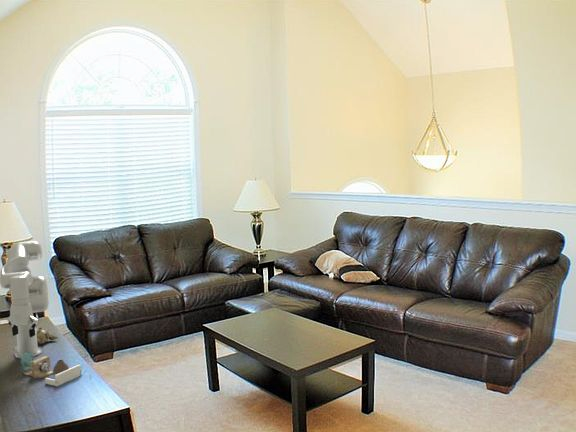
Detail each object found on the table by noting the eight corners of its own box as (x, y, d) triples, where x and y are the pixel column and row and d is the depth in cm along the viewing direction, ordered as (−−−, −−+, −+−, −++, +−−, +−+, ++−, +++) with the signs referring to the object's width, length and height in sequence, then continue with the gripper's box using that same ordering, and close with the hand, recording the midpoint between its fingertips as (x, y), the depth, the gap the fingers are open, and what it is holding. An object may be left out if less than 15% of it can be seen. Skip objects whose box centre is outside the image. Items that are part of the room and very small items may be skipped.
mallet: (21, 370, 274) (20, 354, 274) (30, 366, 279) (29, 351, 278) (41, 374, 268) (40, 358, 267) (50, 370, 272) (49, 355, 271)
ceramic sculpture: (40, 322, 328) (58, 327, 321) (41, 337, 329) (59, 342, 322) (24, 328, 319) (42, 333, 312) (25, 343, 320) (42, 348, 313)
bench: (22, 374, 272) (20, 359, 272) (36, 368, 279) (35, 354, 279) (40, 378, 266) (39, 363, 265) (55, 372, 273) (53, 357, 272)
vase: (64, 382, 261) (62, 363, 260) (50, 381, 263) (49, 363, 262) (72, 376, 268) (71, 358, 267) (59, 375, 270) (57, 357, 269)
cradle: (45, 383, 260) (44, 373, 260) (70, 372, 273) (69, 362, 272) (57, 386, 257) (56, 375, 256) (81, 375, 269) (80, 364, 269)
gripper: (-1, 302, 272) (3, 336, 274) (30, 304, 267) (33, 339, 269) (11, 298, 279) (14, 331, 281) (41, 300, 274) (44, 334, 277)
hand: (24, 335), depth 275 cm, fingers open, 9 cm apart
